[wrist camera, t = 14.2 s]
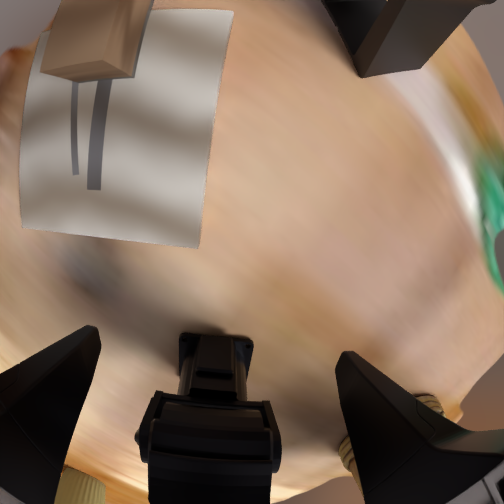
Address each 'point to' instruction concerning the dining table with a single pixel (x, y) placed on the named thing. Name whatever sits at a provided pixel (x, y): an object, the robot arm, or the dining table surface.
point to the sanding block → (96, 39)
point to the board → (127, 138)
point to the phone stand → (396, 30)
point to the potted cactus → (79, 489)
